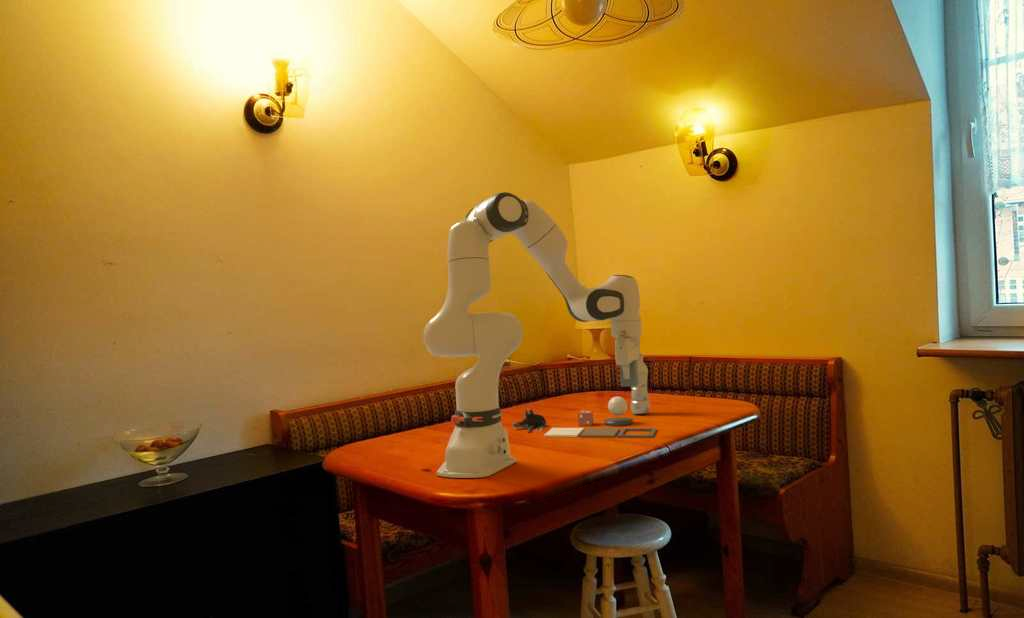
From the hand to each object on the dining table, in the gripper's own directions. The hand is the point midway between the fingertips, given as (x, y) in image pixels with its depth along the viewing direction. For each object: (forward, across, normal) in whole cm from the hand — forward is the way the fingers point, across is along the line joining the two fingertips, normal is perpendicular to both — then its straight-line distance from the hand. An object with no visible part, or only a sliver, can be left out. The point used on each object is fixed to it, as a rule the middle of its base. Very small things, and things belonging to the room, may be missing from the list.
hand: (629, 377), depth 209 cm
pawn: (+2, 0, 0) cm, 2 cm away
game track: (+17, +1, +10) cm, 19 cm away
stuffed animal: (+17, +8, +34) cm, 39 cm away
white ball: (+14, +16, +7) cm, 22 cm away
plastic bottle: (+17, +31, +2) cm, 35 cm away
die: (+16, +14, +17) cm, 27 cm away
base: (+16, +16, +7) cm, 24 cm away
